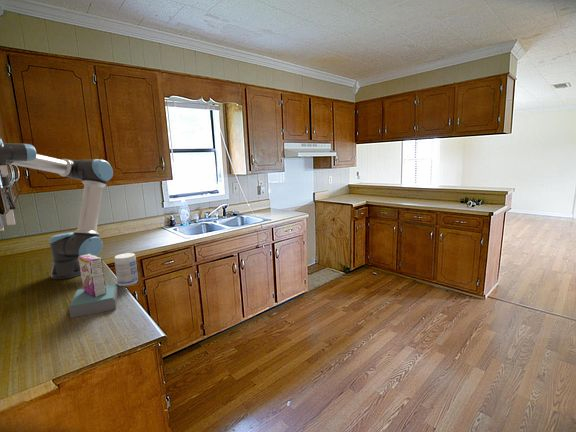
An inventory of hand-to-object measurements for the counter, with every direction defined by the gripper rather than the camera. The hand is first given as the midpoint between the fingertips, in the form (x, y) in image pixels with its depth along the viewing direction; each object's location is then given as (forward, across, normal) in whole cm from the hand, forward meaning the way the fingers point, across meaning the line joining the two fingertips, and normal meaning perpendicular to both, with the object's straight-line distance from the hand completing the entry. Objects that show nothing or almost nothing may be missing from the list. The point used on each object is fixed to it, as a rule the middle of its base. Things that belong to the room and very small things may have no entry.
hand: (5, 227), depth 128 cm
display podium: (+35, +15, +30) cm, 48 cm away
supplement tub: (+35, -5, +42) cm, 55 cm away
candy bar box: (+30, +14, +30) cm, 45 cm away
